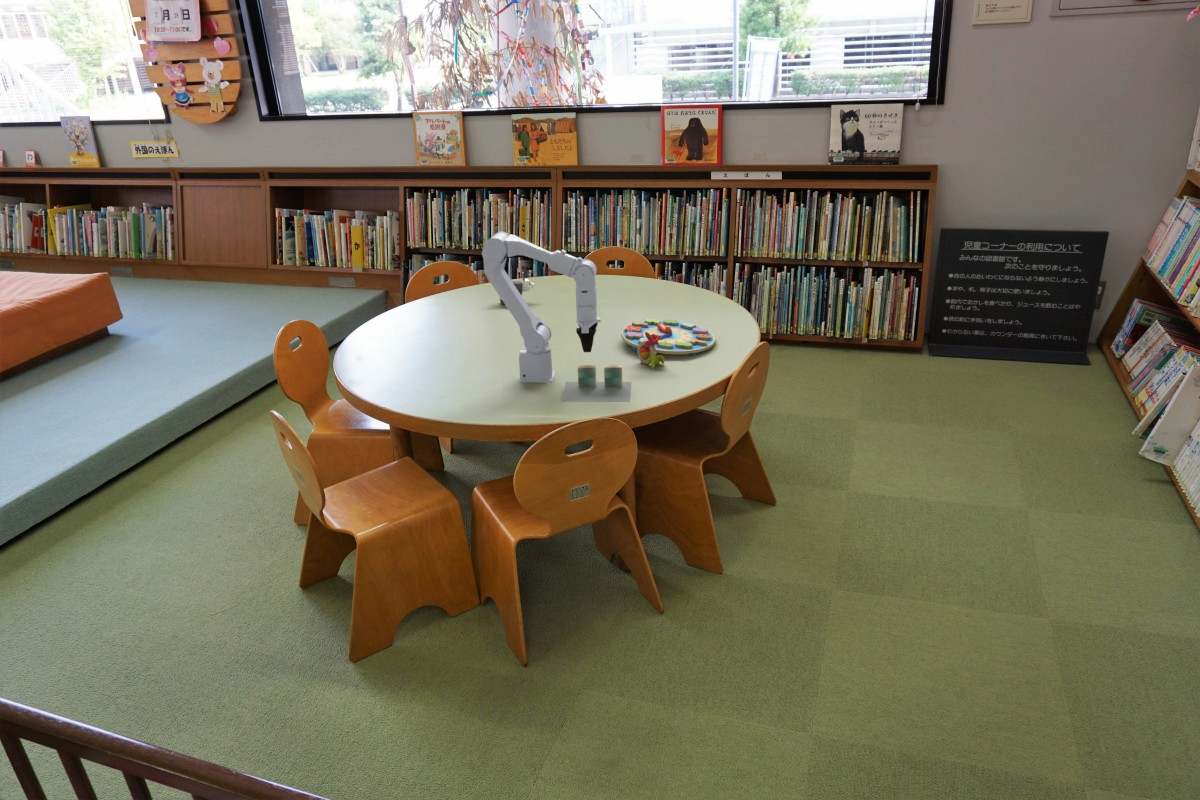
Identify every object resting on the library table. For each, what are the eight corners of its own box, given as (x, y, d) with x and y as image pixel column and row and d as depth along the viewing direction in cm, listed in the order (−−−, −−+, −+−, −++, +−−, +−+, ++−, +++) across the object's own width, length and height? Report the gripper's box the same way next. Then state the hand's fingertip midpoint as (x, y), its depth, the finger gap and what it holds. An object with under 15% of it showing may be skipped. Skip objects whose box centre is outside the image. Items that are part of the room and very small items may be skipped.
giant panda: (498, 306, 308) (496, 281, 304) (497, 302, 313) (495, 278, 309) (536, 302, 311) (535, 278, 307) (534, 299, 316) (533, 275, 312)
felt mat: (560, 402, 222) (560, 401, 222) (565, 383, 235) (565, 382, 235) (629, 402, 221) (629, 401, 221) (631, 383, 234) (631, 381, 233)
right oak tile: (604, 387, 230) (604, 367, 228) (604, 384, 232) (604, 365, 230) (622, 387, 230) (621, 367, 227) (622, 384, 232) (622, 365, 229)
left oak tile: (578, 387, 231) (577, 367, 228) (578, 384, 232) (578, 365, 230) (595, 387, 230) (595, 367, 228) (596, 384, 232) (595, 365, 230)
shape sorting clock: (711, 362, 248) (711, 343, 246) (613, 357, 254) (613, 339, 252) (717, 330, 276) (718, 313, 273) (629, 327, 282) (629, 310, 279)
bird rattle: (636, 373, 246) (657, 368, 239) (625, 338, 245) (646, 332, 238) (649, 368, 250) (670, 362, 244) (638, 333, 249) (659, 327, 243)
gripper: (598, 311, 221) (600, 357, 226) (602, 296, 234) (603, 340, 240) (573, 311, 222) (575, 358, 227) (577, 296, 235) (579, 340, 240)
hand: (587, 349), depth 233 cm, fingers open, 4 cm apart
